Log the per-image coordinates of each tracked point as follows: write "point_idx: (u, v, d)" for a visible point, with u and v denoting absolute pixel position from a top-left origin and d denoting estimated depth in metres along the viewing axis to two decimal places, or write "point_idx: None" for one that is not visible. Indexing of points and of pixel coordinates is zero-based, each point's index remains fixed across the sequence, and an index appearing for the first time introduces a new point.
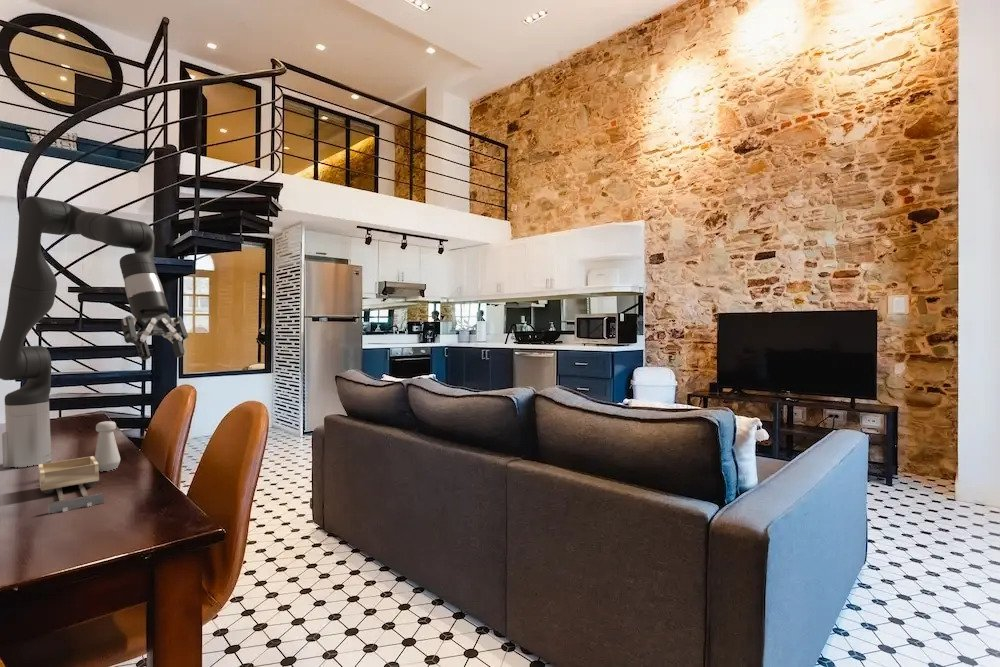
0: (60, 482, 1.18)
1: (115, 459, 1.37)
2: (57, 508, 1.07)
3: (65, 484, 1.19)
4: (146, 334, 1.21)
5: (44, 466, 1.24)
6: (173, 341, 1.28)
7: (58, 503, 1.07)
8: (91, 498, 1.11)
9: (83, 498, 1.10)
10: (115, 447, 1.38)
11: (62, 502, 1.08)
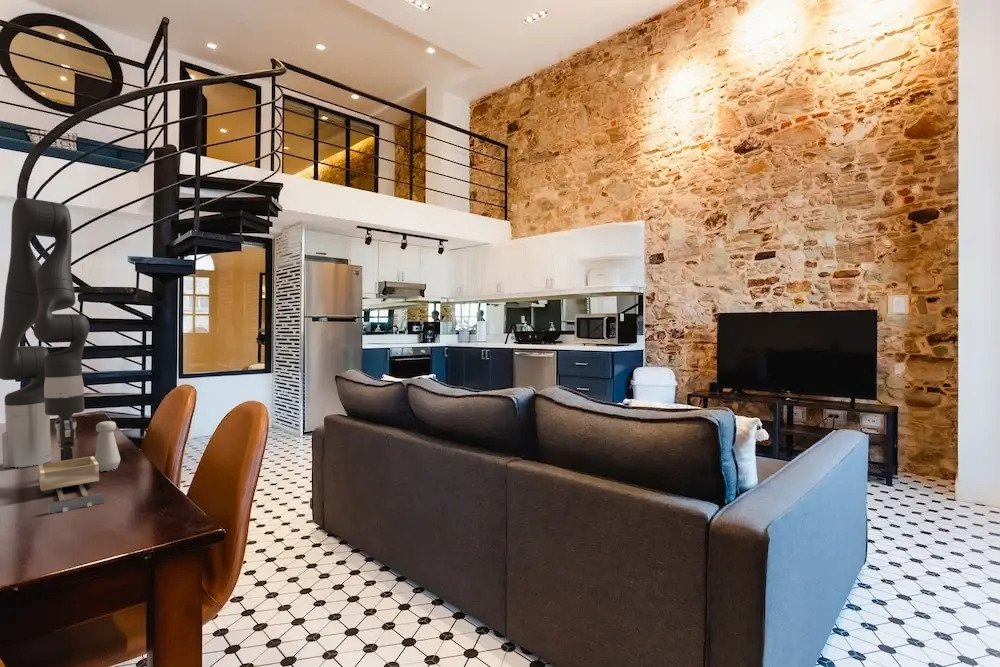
0: (60, 482, 1.18)
1: (115, 459, 1.38)
2: (57, 508, 1.07)
3: (65, 484, 1.19)
4: None
5: (44, 466, 1.24)
6: None
7: (58, 503, 1.07)
8: (91, 498, 1.11)
9: (83, 498, 1.10)
10: (115, 447, 1.38)
11: (62, 502, 1.08)
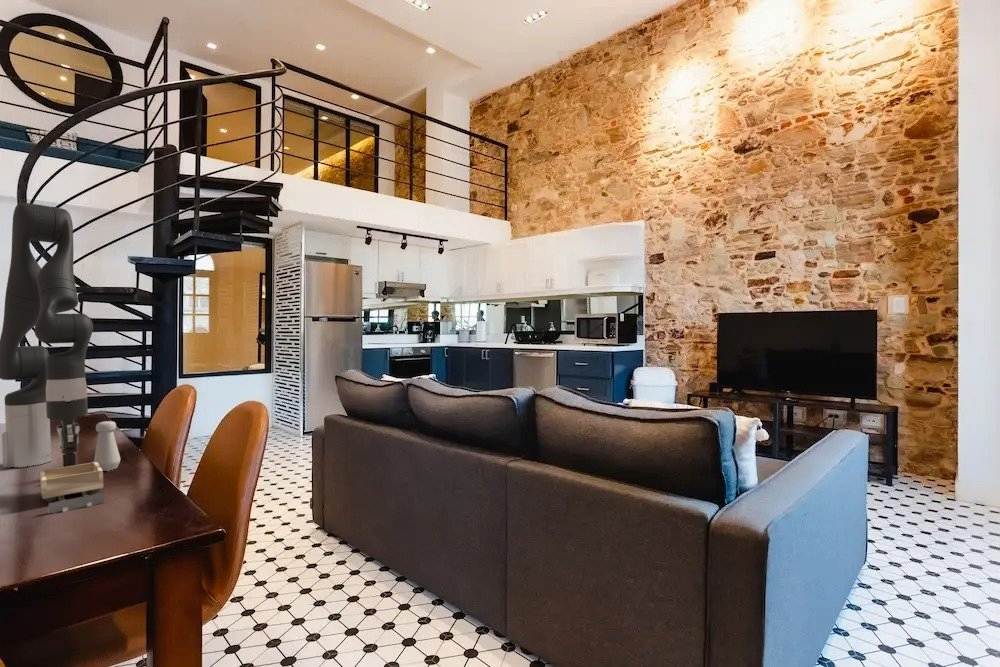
0: (63, 490, 1.13)
1: (115, 459, 1.37)
2: (57, 508, 1.07)
3: (68, 492, 1.14)
4: None
5: (46, 473, 1.18)
6: None
7: (58, 503, 1.07)
8: (91, 498, 1.11)
9: (83, 498, 1.10)
10: (115, 447, 1.38)
11: (62, 502, 1.08)
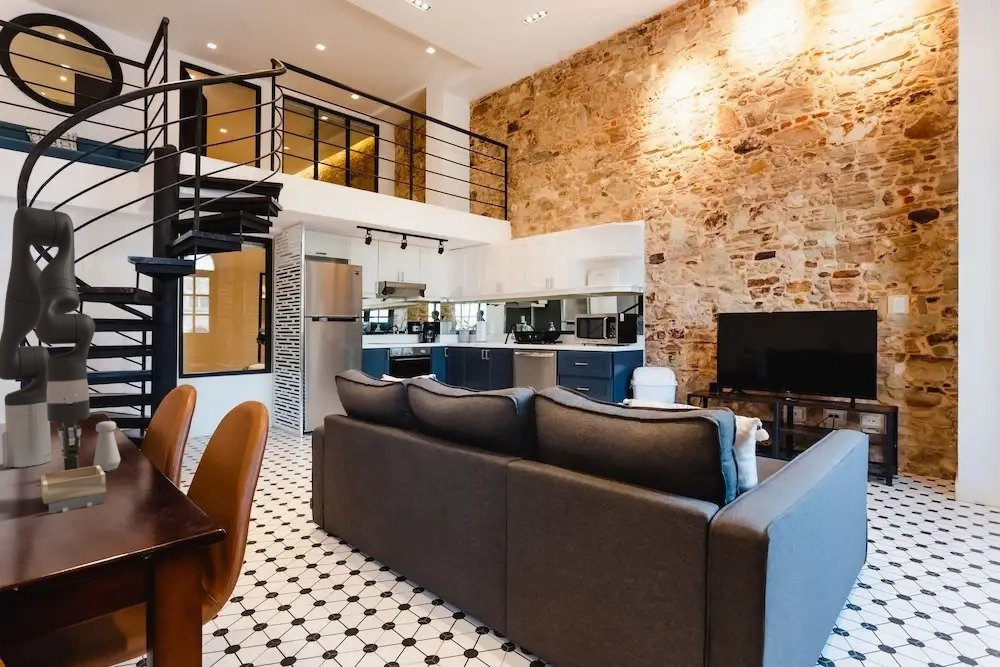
0: (64, 494, 1.10)
1: (115, 459, 1.37)
2: (57, 508, 1.07)
3: (69, 496, 1.10)
4: None
5: (47, 476, 1.15)
6: None
7: (58, 503, 1.07)
8: (91, 498, 1.11)
9: (83, 498, 1.10)
10: (115, 447, 1.38)
11: (62, 502, 1.08)
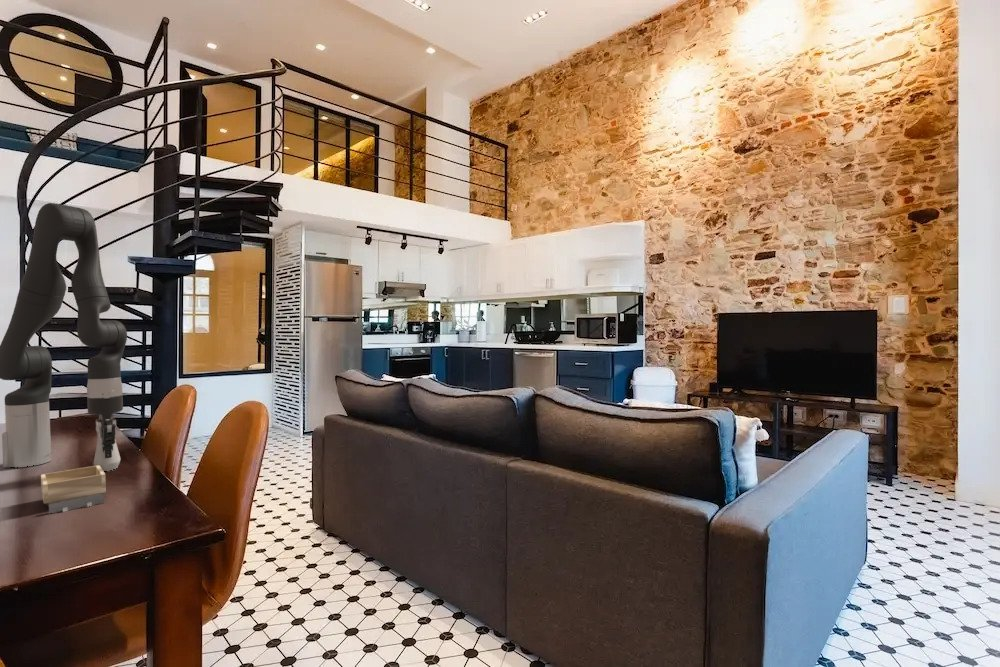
0: (64, 494, 1.10)
1: (115, 459, 1.38)
2: (57, 508, 1.07)
3: (69, 496, 1.10)
4: None
5: (47, 476, 1.15)
6: None
7: (58, 503, 1.07)
8: (91, 498, 1.11)
9: (83, 498, 1.10)
10: (115, 447, 1.38)
11: (62, 502, 1.08)
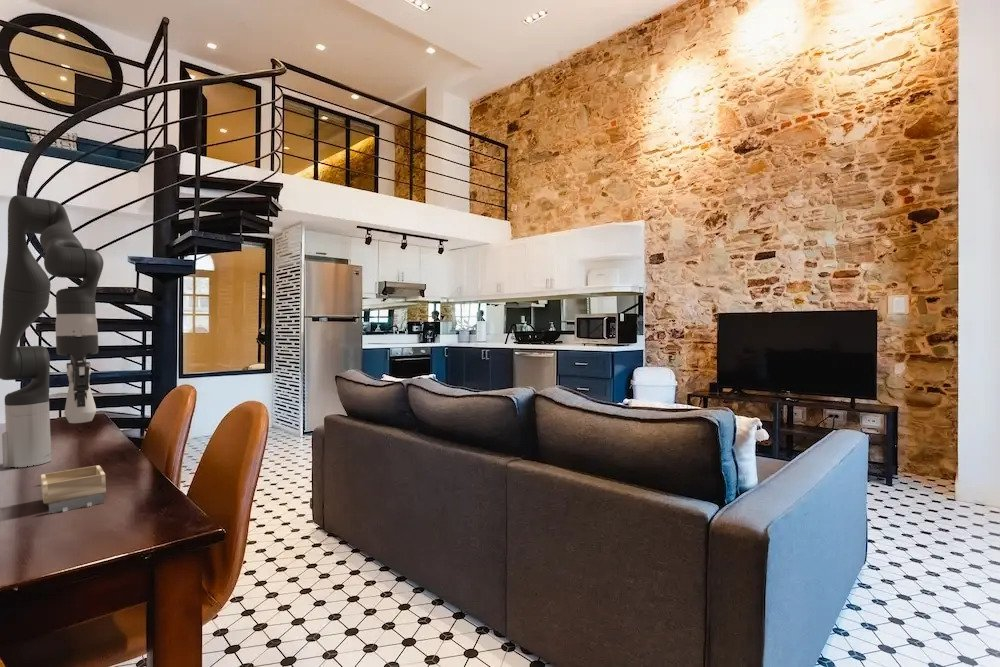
0: (64, 494, 1.10)
1: (90, 408, 1.18)
2: (57, 508, 1.07)
3: (69, 496, 1.10)
4: None
5: (47, 476, 1.15)
6: None
7: (58, 503, 1.07)
8: (91, 498, 1.11)
9: (83, 498, 1.10)
10: (90, 395, 1.19)
11: (62, 502, 1.08)
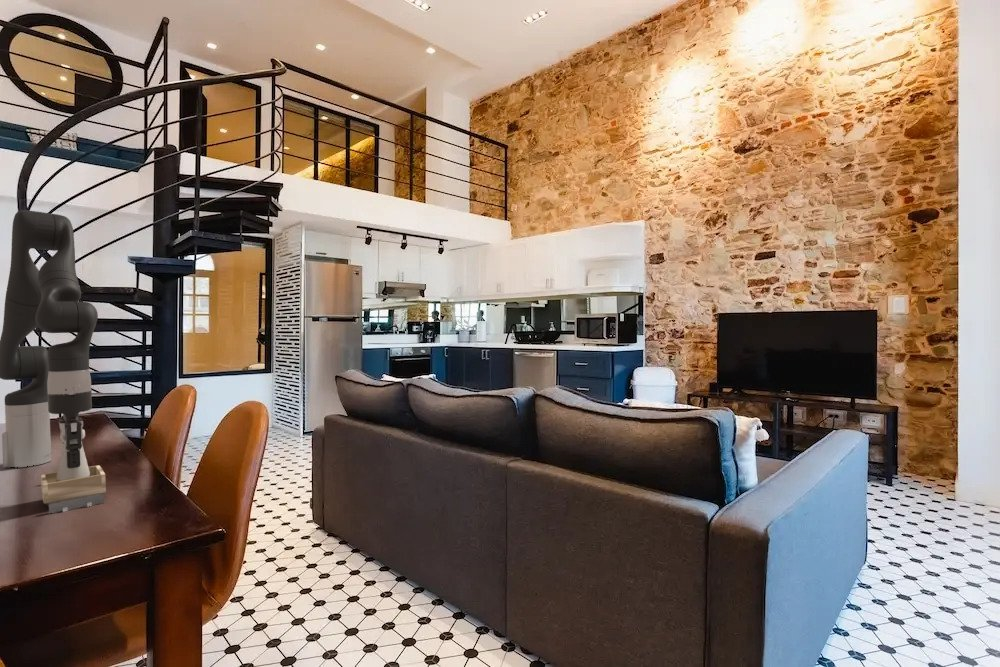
0: (64, 494, 1.10)
1: (83, 474, 1.15)
2: (57, 508, 1.07)
3: (69, 496, 1.10)
4: None
5: (47, 476, 1.15)
6: None
7: (58, 503, 1.07)
8: (91, 498, 1.11)
9: (83, 498, 1.10)
10: (83, 459, 1.16)
11: (62, 502, 1.08)
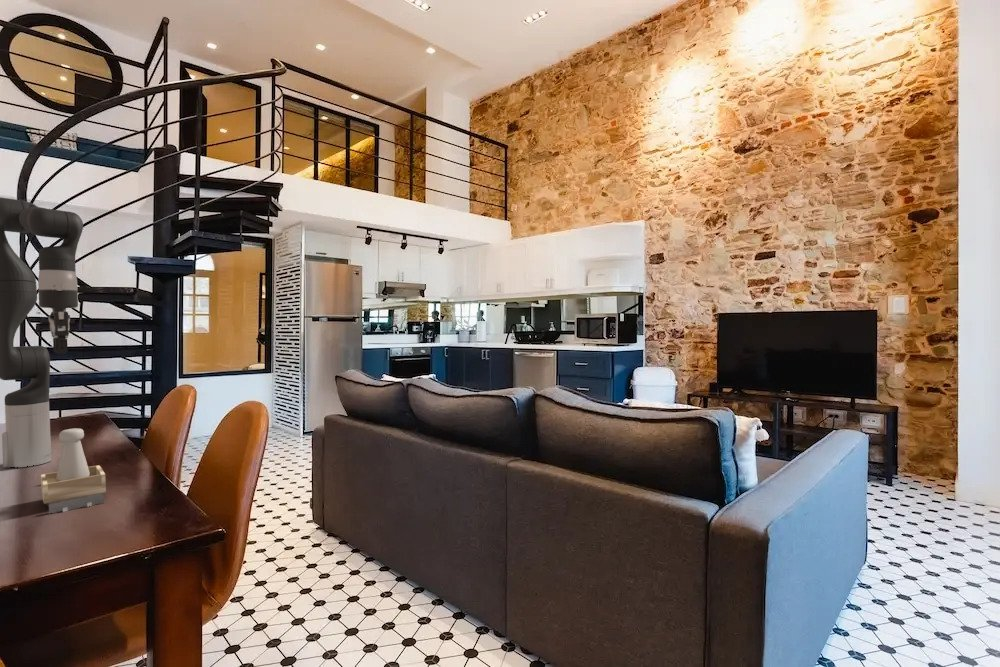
0: (64, 494, 1.10)
1: (83, 474, 1.15)
2: (57, 508, 1.07)
3: (69, 496, 1.10)
4: (67, 330, 1.29)
5: (47, 476, 1.15)
6: None
7: (58, 503, 1.07)
8: (91, 498, 1.11)
9: (83, 498, 1.10)
10: (83, 459, 1.16)
11: (62, 502, 1.08)
